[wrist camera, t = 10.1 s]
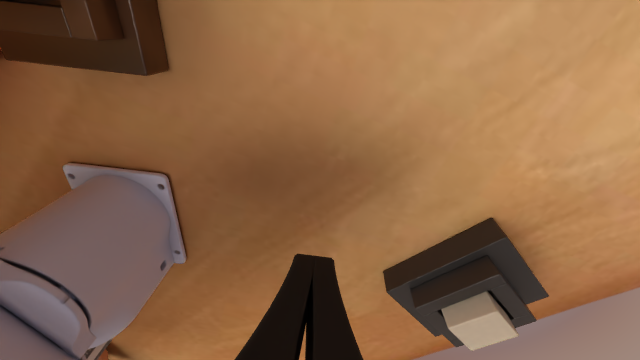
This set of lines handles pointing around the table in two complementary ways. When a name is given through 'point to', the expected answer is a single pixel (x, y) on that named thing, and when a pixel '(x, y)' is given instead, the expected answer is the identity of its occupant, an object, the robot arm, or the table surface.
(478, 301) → the cream rounded-edge block
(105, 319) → the robot arm
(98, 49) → the walnut block
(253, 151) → the table surface
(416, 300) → the black block
